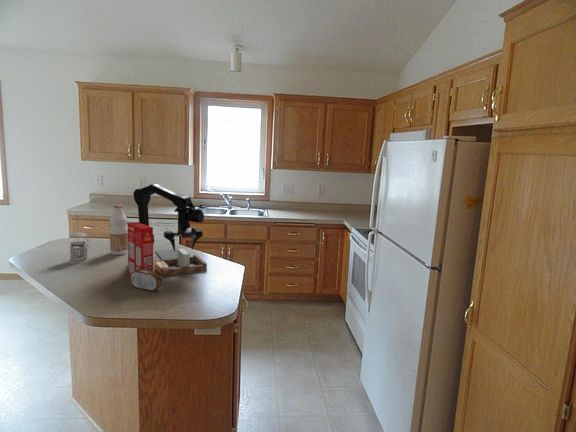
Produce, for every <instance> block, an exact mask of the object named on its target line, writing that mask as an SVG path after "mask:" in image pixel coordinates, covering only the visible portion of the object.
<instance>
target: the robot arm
mask: <svg viewBox="0 0 576 432" xmlns="http://www.w3.org/2000/svg"><path fill="white" fill-rule="evenodd" d="M154 194H156V195H158V196H160V197H162V198H164V199H166V200H168V201H170V202H171V203H173V205H174V206H175V207H176V208H175V209H174V210H173V212H175V213H177V222H176V223H177V232H173V230H171V231H164V232H163V238H164V239H166V240H168V241H169V242H170V245H171V247H172V249H173V250H174V251H175V249H176V243H175V241H176V239H175V237H182V239H187V238H188V239H189V238H190V239H191V246H190V247H191V250H194V247H195V245H196V242H197V241H198V240H199V239H200V238H202V237H203V236H204V235H203V234H204V233H203V231H202V230H200V229H197V228H196V227H191V223H197V224H198V223H200V224H202V223H203V222H204V220H205V214H204V212H203V209H201V208H199V209H197V208H196V207H195V205H194V203H193V202H192V199H191V197H190V196H188V195H184V194H179V193H176V192H174V191H172V190H170V189H167V188H165V187H163V186H162V185H160V184H158V183H152V184H150V185H147V186H144V187H142V188H137V189H135V190H134V191H133V193H132V195H133V199H134V202H135V203H136V204H137V205H136V206H137V211H138V212H137V213H138V222H139V223H142V224H145V225H147V226H150V222H149V221H150V220H149V216H150V215H149V203H150V201H151V195H154ZM190 222H191V223H190ZM154 243H155V234H154V233H153V245H154Z"/></svg>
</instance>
